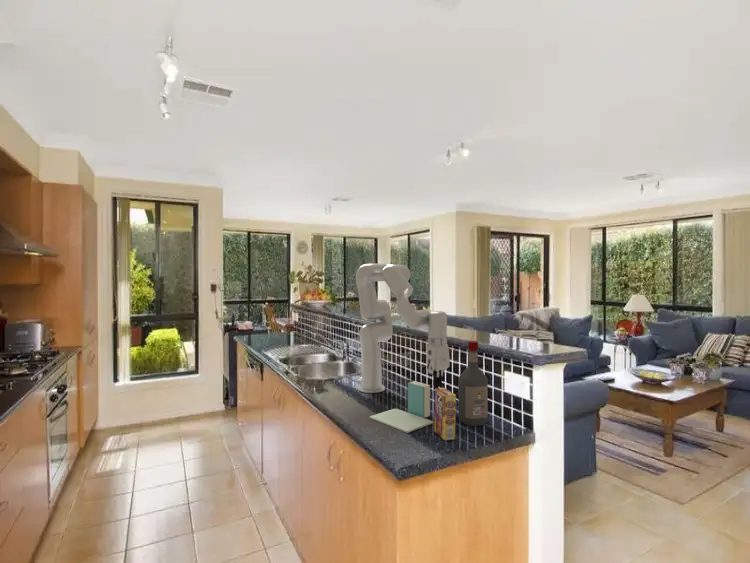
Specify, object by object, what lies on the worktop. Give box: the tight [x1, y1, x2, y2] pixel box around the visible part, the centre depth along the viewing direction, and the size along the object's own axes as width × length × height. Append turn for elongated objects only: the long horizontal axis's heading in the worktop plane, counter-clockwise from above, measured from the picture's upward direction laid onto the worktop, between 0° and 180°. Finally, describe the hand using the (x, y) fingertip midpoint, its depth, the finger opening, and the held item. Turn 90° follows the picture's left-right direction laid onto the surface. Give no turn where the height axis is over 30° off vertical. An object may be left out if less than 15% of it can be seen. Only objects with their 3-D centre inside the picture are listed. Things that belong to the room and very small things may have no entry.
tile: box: [407, 380, 431, 419], centre depth 162 cm, size 8×4×12 cm, turn 42°
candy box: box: [433, 387, 457, 441], centre depth 141 cm, size 9×4×15 cm, turn 14°
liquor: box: [458, 340, 489, 427], centre depth 153 cm, size 9×9×30 cm
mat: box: [369, 408, 435, 434], centre depth 155 cm, size 20×14×1 cm
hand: (437, 385), depth 169 cm, fingers closed
